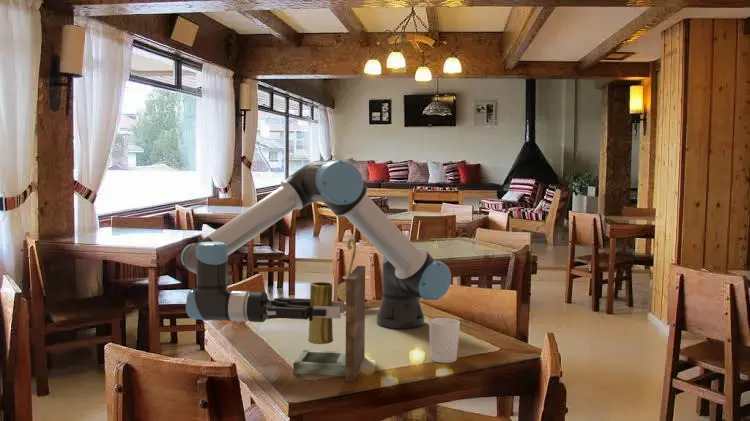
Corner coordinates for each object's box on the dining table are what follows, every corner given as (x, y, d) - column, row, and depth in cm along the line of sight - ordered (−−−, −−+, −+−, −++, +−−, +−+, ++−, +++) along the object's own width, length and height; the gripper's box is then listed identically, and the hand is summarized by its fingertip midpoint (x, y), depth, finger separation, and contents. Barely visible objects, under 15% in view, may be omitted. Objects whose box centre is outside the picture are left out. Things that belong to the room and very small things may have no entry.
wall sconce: (358, 313, 220) (358, 240, 218) (332, 310, 223) (333, 238, 222) (373, 305, 233) (373, 236, 231) (348, 303, 236) (349, 235, 235)
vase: (336, 339, 161) (337, 282, 160) (327, 345, 156) (327, 286, 155) (314, 337, 163) (315, 281, 162) (304, 342, 158) (304, 284, 157)
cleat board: (289, 379, 151) (289, 277, 149) (307, 354, 170) (307, 264, 169) (354, 382, 149) (354, 278, 147) (364, 357, 169) (365, 266, 167)
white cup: (426, 355, 171) (426, 317, 171) (455, 354, 172) (456, 317, 171) (431, 364, 163) (431, 325, 163) (462, 363, 164) (462, 324, 163)
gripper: (260, 313, 170) (347, 316, 168) (238, 330, 152) (335, 334, 149) (260, 285, 170) (347, 288, 167) (238, 298, 151) (336, 302, 149)
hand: (342, 309), depth 158 cm, fingers closed on vase, 5 cm apart
